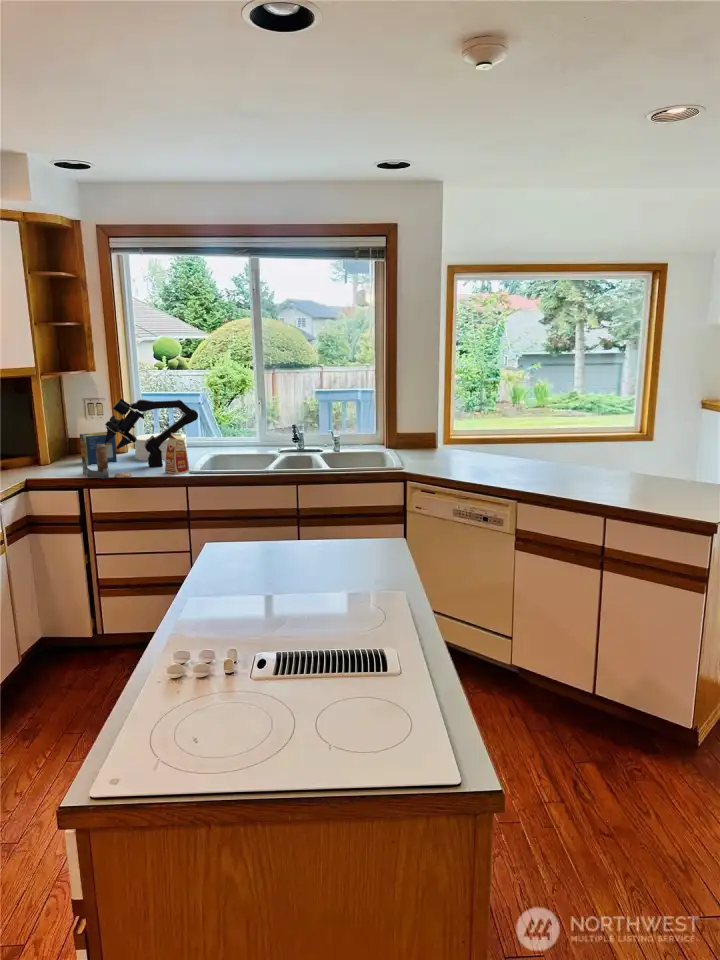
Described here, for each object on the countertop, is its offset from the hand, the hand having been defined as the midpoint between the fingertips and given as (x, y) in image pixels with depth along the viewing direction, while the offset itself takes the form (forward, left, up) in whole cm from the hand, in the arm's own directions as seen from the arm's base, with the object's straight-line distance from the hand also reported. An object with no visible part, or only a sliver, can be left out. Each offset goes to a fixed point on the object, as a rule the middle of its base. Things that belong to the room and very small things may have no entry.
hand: (111, 445), depth 321 cm
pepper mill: (+3, +8, -12) cm, 15 cm away
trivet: (-8, +19, -12) cm, 24 cm away
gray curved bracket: (+5, +16, -12) cm, 21 cm away
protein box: (+10, -22, -12) cm, 27 cm away
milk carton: (-33, +14, -12) cm, 38 cm away
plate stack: (-21, -34, -13) cm, 42 cm away
